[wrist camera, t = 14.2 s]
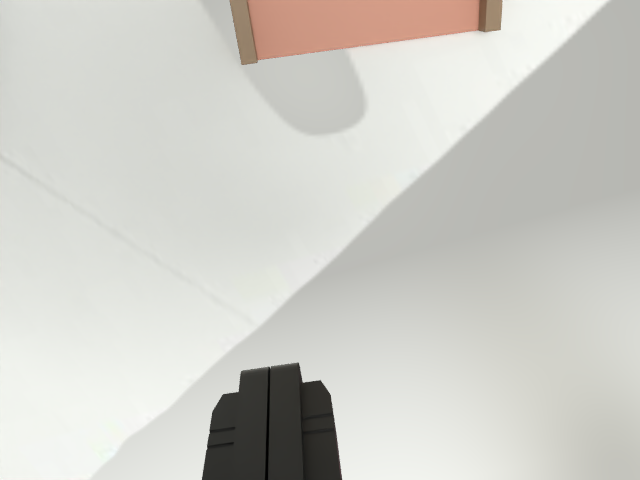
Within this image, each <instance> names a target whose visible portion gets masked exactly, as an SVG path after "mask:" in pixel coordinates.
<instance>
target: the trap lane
mask: <svg viewBox="0 0 640 480" xmlns="http://www.w3.org/2000/svg"><path fill="white" fill-rule="evenodd" d="M230 5H231V10H232V16H233V21H234V26H235V32H236V37H237V42H238V48H239V53H240V58H241V64H242V65H245V64H252V63H257V61H258V60H261V59H269V58H276V57H284V56H291V55H299V54H305V53H314V52H321V51H328V50H336V49H343V48H351V47H358V46H365V45H373V44H380V43H388V42H395V41H402V40H410V39H417V38H425V37H432V36H439V35H447V34H454V33H462V32H469V31H476V30H479V31H483V32H489V31H497V30H501V14H502V0H230Z"/></svg>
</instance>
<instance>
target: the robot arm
mask: <svg viewBox="0 0 640 480" xmlns="http://www.w3.org/2000/svg"><path fill="white" fill-rule="evenodd" d="M202 480H342V475H341V468H340V460H339V451H338V443H337V435H336V428H335V422H334V415H333V408H332V402H331V395H330V393H329V392H328V390H327V389H326V387H325V386H324V385H323V383H322V382H321V381H312V382H305V383H303V382H302V376H301V371H300V366H299V363H292V364H285V365H278V366H271V369H270V367H265V368H258V369H251V370H243V371H241V376H240V385H239V392H236V393H229V394H223V395H222V397H221V399H220V400H219V402H218V403H217V405H216V407H215V408H214V410H213V412H212V418H211V424H210V434H209V438H208V444H207V450H206V457H205V464H204V470H203V477H202Z"/></svg>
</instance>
